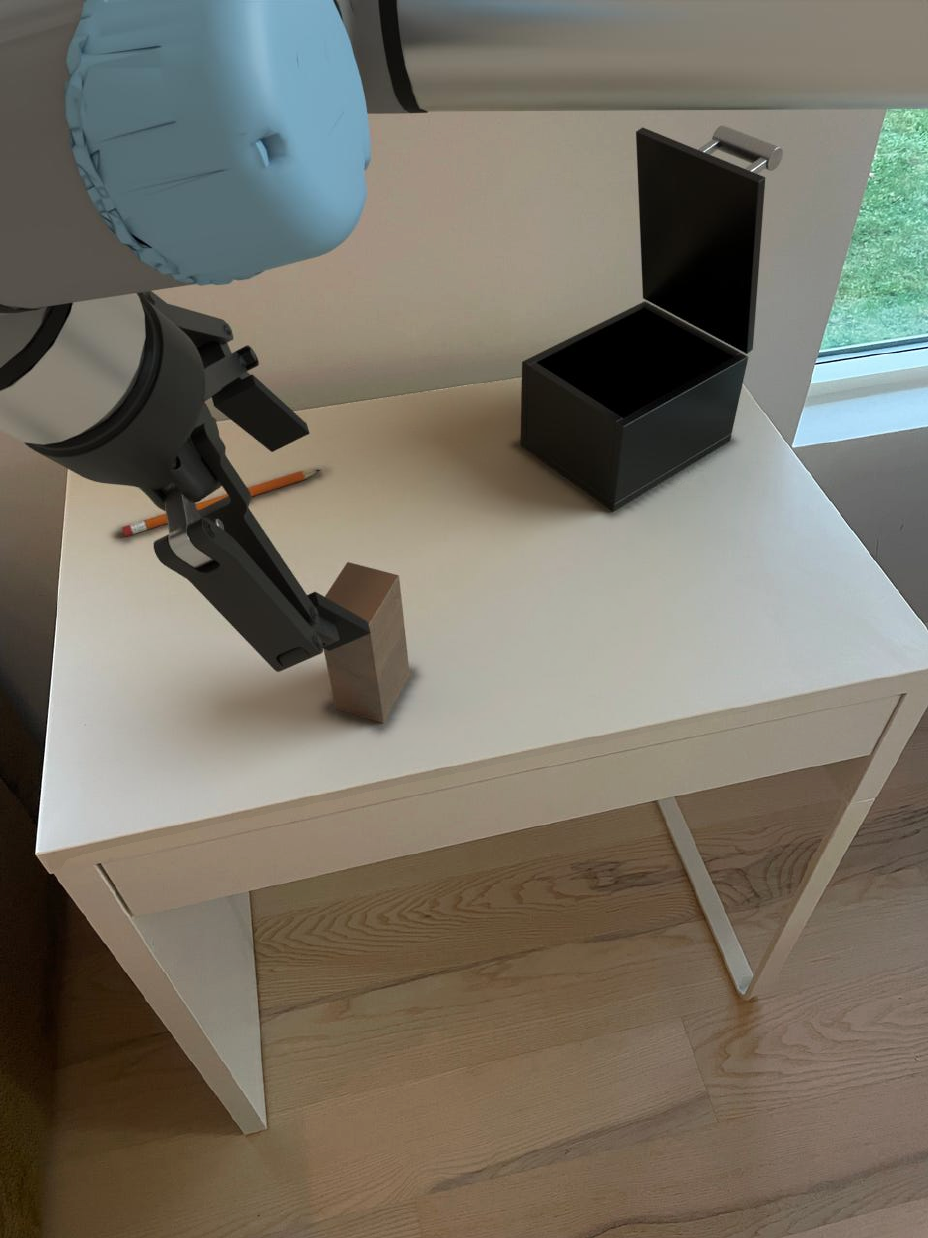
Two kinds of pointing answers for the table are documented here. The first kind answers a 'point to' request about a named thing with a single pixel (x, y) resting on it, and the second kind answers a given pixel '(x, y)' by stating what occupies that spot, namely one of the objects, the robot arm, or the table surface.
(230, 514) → the robot arm
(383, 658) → the tall brown wooden bar
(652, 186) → the box lid
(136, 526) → the pencil
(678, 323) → the black box
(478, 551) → the table surface
